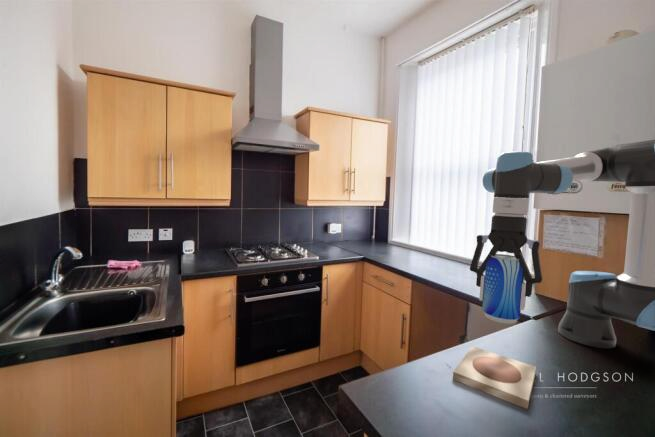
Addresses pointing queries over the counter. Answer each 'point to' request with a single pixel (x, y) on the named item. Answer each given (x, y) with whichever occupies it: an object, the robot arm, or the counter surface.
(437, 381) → the counter surface
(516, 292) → the beer can
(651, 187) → the robot arm
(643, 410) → the counter surface
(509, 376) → the birch board
